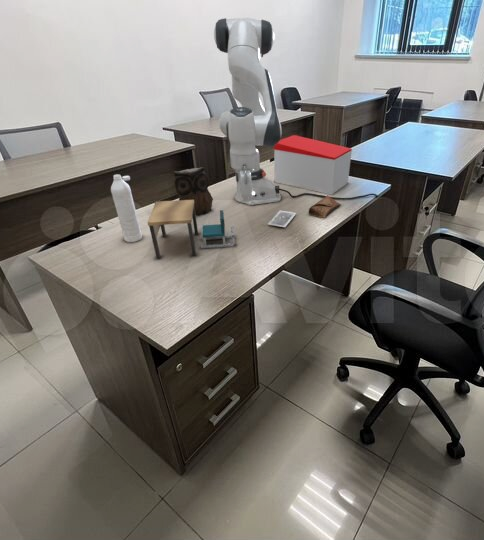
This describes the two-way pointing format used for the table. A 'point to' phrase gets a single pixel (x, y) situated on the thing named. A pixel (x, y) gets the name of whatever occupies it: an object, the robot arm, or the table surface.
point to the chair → (217, 233)
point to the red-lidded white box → (311, 164)
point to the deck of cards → (282, 218)
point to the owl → (194, 189)
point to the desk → (172, 219)
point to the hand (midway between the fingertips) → (245, 200)
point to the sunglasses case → (323, 207)
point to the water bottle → (125, 208)
